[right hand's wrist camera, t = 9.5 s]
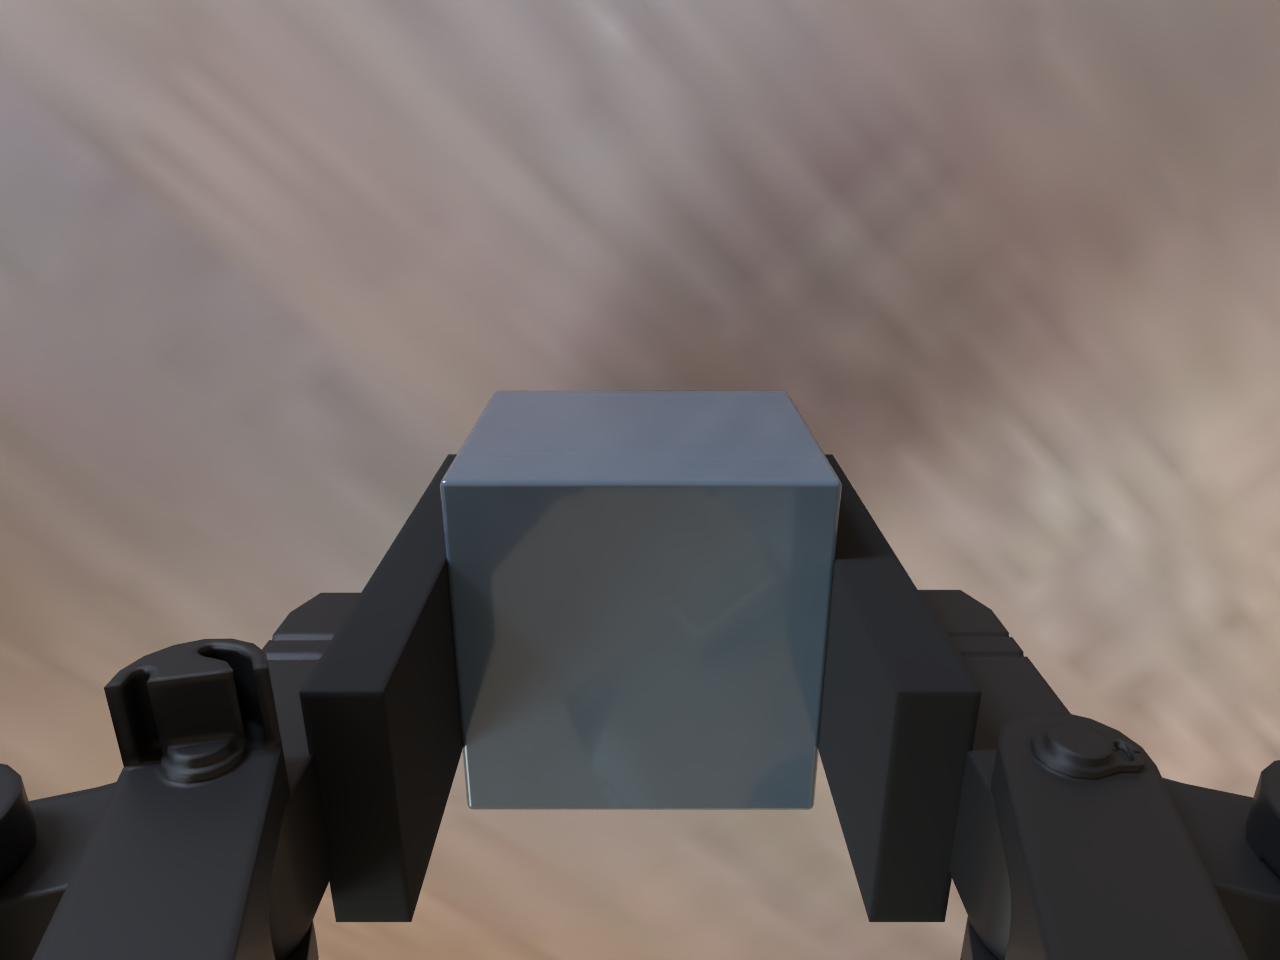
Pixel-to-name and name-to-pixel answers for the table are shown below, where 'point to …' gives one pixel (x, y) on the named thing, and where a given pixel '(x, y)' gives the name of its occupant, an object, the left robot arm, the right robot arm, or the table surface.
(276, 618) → the table surface
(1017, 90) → the table surface
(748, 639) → the cube
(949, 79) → the table surface
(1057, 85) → the table surface
